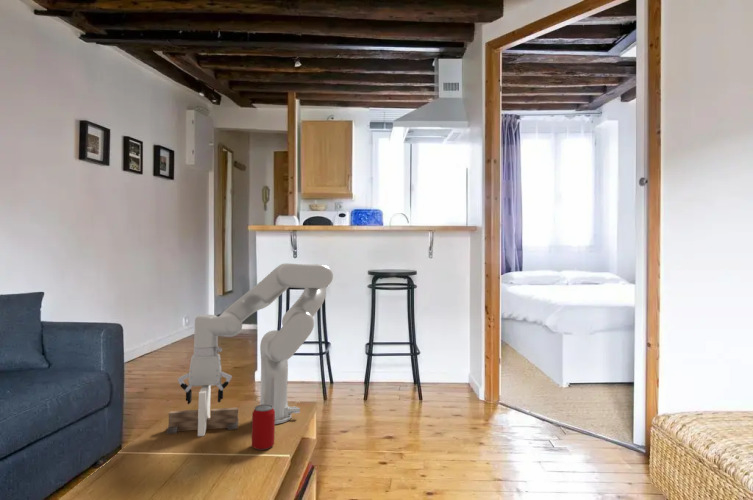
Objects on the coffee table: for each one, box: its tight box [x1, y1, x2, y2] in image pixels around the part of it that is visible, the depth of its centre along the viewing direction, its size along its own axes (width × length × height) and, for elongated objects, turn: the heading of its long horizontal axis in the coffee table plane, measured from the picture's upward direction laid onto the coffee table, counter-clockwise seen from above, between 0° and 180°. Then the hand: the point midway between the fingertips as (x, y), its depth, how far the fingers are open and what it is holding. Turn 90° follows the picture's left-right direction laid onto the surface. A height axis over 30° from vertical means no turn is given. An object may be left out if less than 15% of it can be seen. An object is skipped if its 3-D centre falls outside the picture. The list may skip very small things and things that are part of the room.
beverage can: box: [251, 404, 276, 451], centre depth 136 cm, size 7×7×12 cm
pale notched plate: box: [197, 385, 212, 437], centre depth 151 cm, size 2×14×14 cm, turn 14°
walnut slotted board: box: [166, 407, 239, 435], centre depth 150 cm, size 22×6×6 cm, turn 103°
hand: (204, 402), depth 151 cm, fingers open, 9 cm apart
